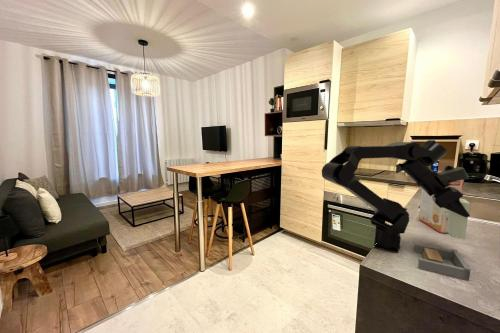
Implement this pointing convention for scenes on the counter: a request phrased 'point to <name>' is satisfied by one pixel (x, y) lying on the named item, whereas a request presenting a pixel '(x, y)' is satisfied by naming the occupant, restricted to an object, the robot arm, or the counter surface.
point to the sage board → (458, 222)
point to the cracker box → (436, 210)
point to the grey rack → (456, 271)
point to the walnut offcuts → (432, 255)
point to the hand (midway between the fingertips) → (464, 213)
